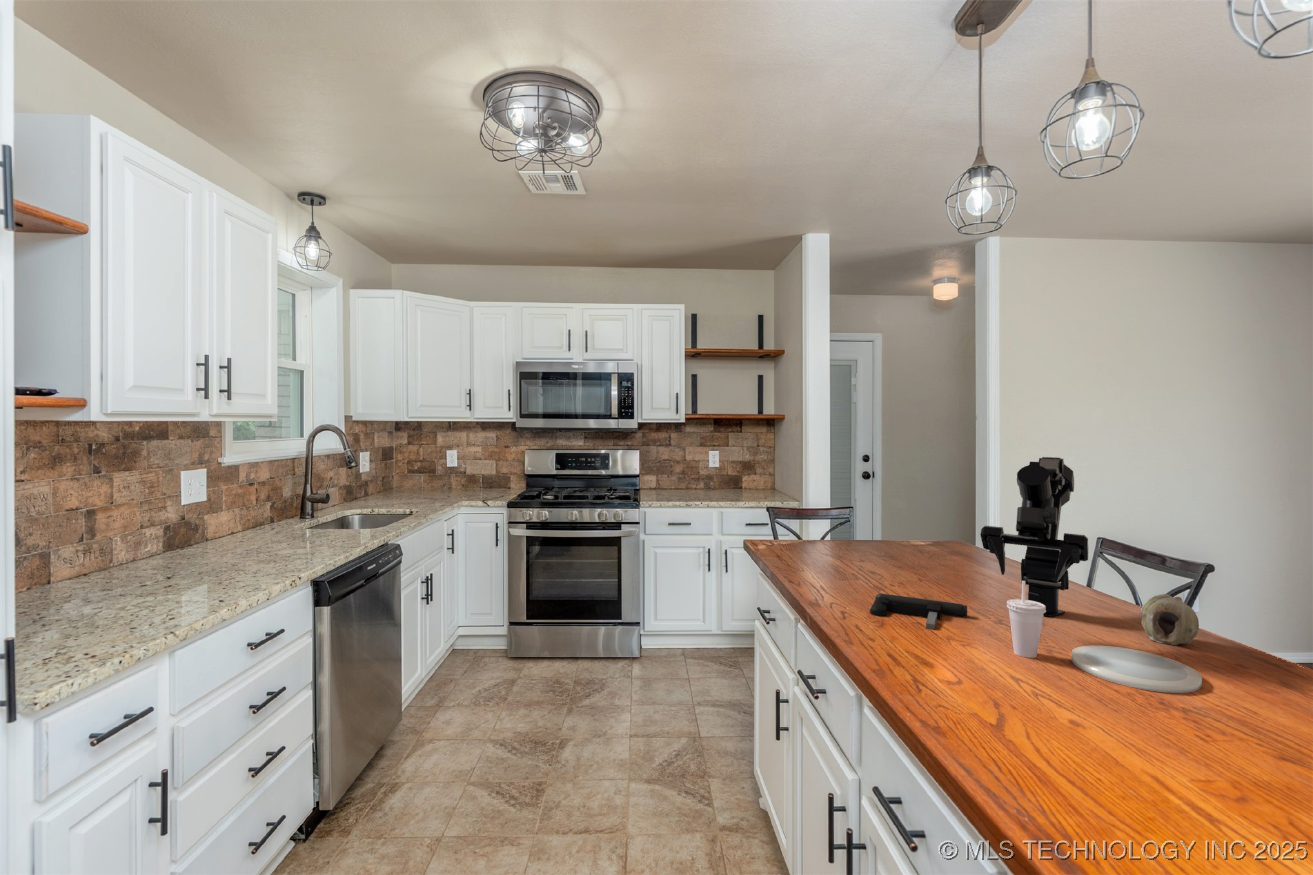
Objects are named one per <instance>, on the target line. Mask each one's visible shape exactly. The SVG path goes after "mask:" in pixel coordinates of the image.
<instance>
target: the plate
mask: <svg viewBox="0 0 1313 875" xmlns="http://www.w3.org/2000/svg"><path fill="white" fill-rule="evenodd" d="M1071 662H1072V663H1073V664H1074V665H1075V666H1076V667H1077V668H1078V669H1080V670H1082V671H1084V672H1086V673H1087V674H1089V675H1092V676H1095V678H1099V679H1102V680H1105V681H1108V682H1111V683H1114V684H1118V685H1122V686H1124V687H1129V688H1133V689H1139V690H1144V691H1150V692H1156V693H1165V694H1166V693H1169V694H1188V693H1194V692H1197V691H1199V690H1200V689H1202V686H1203V677H1202V675H1201V674H1200V672H1198V671H1197V670H1195V669H1194V668H1192V667H1190V666H1189V665H1186V664H1184V663H1182V662H1180V661H1176V660H1174V659H1171V658H1169V657H1165V656H1162V655H1160V654H1159V655H1158V654H1155V653H1153V652H1152V653H1151V652H1149V651H1144V650H1138V649H1133V648H1132V649H1131V648H1127V647H1121V646H1112V645H1096V644H1093V645H1092V644H1091V645H1082V646H1078V647H1075V648H1073V649H1072V651H1071Z"/></svg>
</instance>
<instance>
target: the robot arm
mask: <svg viewBox="0 0 1313 875" xmlns="http://www.w3.org/2000/svg"><path fill="white" fill-rule="evenodd" d="M1016 483H1017V486H1018V489H1019V495H1020V497H1021V499H1022V501H1021V506H1018V507H1017V508H1016V510H1017V511H1016V512H1017V513H1016V525H1015V531H1016V532H1017V534H1011V533H1005V531H1004V527H1001V526H995V525H992V526H991V525H984V526H983V527H982V528H981V529H980V540H981V544H982V548H983V549H985V550H986V551H989V553H990V554H994V555H995V558H996V560H997V561H998V564H999V569H1000V572H1001V573H1000V574H1001V575H1002V576H1004V575H1005V572H1006V551H1005V550H1006V549H1005V547H1006V545H1007V544H1008V545H1015V546H1025V547H1026V550H1025V553H1024V554H1025V555H1024V558H1021V563H1020V579H1021V583H1022V581H1025V586H1026V585H1027V586H1028V592H1027V600H1030V601H1035V602H1039V603H1041V604H1043V605H1045V606H1046V612H1045V613H1044V615H1043V617H1044V616H1045V617H1048V616H1051V617H1055V616H1059V615H1058V614H1060V615H1063V614H1064V613H1065V614H1066V611H1064V610H1061V609H1059V592H1060V591H1059V590H1061V591H1065V590H1069V589H1070V587H1069V586H1070V585H1069V584H1070V581H1069V580H1070V579H1069V569H1070V568H1071V567H1072V566H1073V565H1074V564H1080V563H1081V562H1087V561H1089V538H1088V537H1087V536H1086V535H1085V534H1079V533H1065V532H1064V533H1063V539H1058V537H1059V530H1060V529H1059V527H1060V522H1061V521H1060V520H1061V512H1062V507H1063V506H1064V505H1066V503H1067V504H1068V502H1069V501H1070V499H1071V495H1072V494H1071V493H1074V491H1075V475H1074V470H1072V468H1070V467H1069V466H1067V465H1066V464H1065V461H1064V458H1061V457H1057V456H1055V457H1051V456H1050V457H1049V456H1043V457H1039V459H1038V461H1029V464H1028V465H1026V466H1025V465H1024V466H1023V467H1021V468H1020V469H1019V470H1018V471H1017V473H1016Z"/></svg>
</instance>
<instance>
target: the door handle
mask: <svg viewBox="0 0 1313 875" xmlns="http://www.w3.org/2000/svg"><path fill="white" fill-rule="evenodd" d="M888 613H891V614H897V615H904V616H911V617H916V618H917V617H918V618H925V619H926V622H925V629H927V630H933V631H934V630H935V629H936V625H937V622H938V621H941V617H942V615H945V616H952V617H958V618H964V617H965V618H967V617H968V605H965V604H962V603H956V602H950V601H949V602H948V601H940V600H934V599H926V598H921V597H920V598H919V597H911V596H904V595H903V596H902V595H895V594H887V593H881V592H880V593H878V594H876V596H875V598H874V601H873V604H872V605H871V607H870V609H869V614H870V615H871V616H875V617H876V616H877V617H886V616H887V615H888Z"/></svg>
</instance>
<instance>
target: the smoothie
mask: <svg viewBox="0 0 1313 875" xmlns="http://www.w3.org/2000/svg"><path fill="white" fill-rule="evenodd" d="M1006 607H1007V609H1008V614H1009V623H1010V628H1011V629H1010V630H1011V638H1012V646H1013V653H1014V654H1015V655H1017V656H1019V657H1022V658H1027V659H1032V658H1033V659H1034V658H1037V657H1038V652H1039V651H1038V650H1039V644H1040V638H1041V634H1042V633H1041V632H1042V626H1043V622H1044V613H1045V612H1046V606H1045V605H1043V604H1041V603H1039V602H1035V601H1030V600H1028V599H1026V585H1025V581H1022V582H1021V599H1020V598H1013V599H1012V598H1011V599H1008V600H1006Z"/></svg>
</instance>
